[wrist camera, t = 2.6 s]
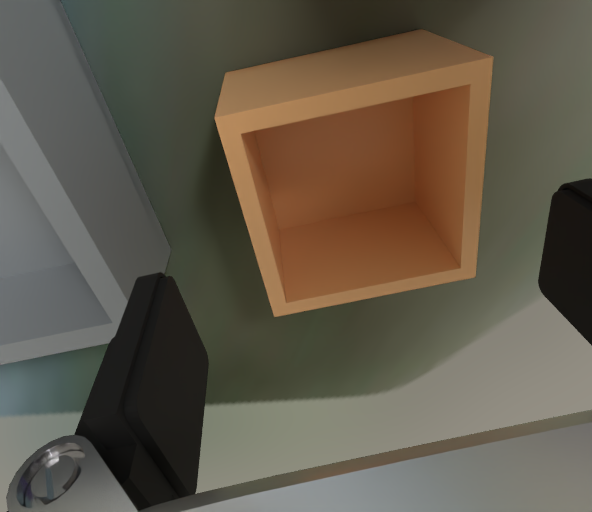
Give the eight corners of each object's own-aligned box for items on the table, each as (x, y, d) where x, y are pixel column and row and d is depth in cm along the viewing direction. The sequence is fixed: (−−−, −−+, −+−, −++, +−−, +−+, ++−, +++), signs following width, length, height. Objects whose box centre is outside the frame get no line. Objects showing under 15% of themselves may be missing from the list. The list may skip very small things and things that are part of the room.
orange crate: (421, 28, 14) (493, 57, 10) (423, 204, 18) (475, 277, 13) (225, 72, 14) (214, 117, 10) (269, 235, 18) (274, 317, 14)
